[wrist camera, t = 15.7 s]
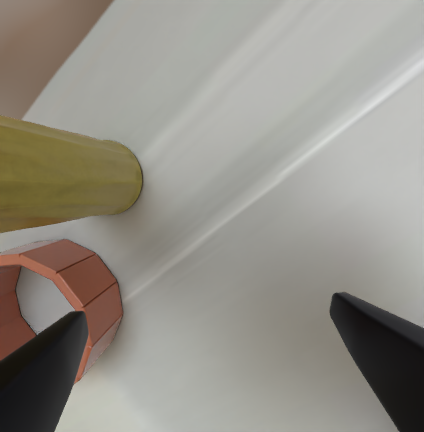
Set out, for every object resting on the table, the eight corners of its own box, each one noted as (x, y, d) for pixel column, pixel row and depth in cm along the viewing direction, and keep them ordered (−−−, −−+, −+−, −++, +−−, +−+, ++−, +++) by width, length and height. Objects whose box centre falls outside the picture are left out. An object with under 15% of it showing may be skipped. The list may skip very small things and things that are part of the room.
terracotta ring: (146, 318, 21) (120, 353, 17) (60, 376, 24) (18, 420, 19) (67, 214, 21) (19, 223, 17) (-13, 283, 23) (-73, 307, 19)
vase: (65, 191, 21) (-313, 212, 7) (92, 126, 20) (-296, -14, 6) (124, 227, 20) (-142, 326, 6) (155, 163, 19) (-85, 112, 5)
